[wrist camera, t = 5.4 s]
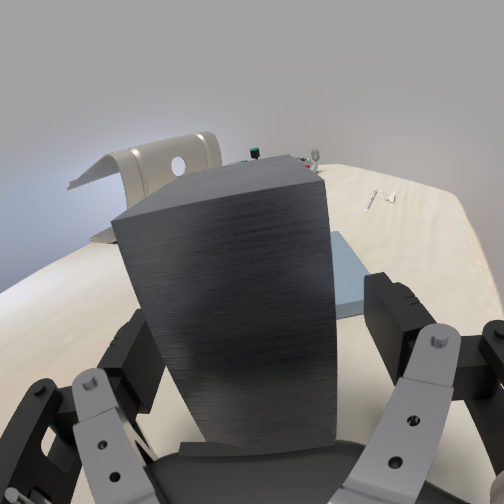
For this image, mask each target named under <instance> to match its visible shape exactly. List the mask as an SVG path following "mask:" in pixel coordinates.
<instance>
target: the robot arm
mask: <svg viewBox="0 0 504 504" xmlns="http://www.w3.org/2000/svg"><path fill="white" fill-rule="evenodd" d="M364 318H365V323H366V326H367V328H368V330H369V332H370V334H371V336H372V338H373V340H374V342H375V345H376V347H377V349H378V351H379V353H380V355H381V357H382V360H383V362H384V364H385V366H386V368H387V370H388V373H389V375H390V377H391V379H392V382H393V384H394V386H396V387H395V389H394V391H393V393H392V396H391V398H390V400H389V402H388V404H387V406H386V409H385V411H384V413H383V415H382V417H381V419H380V421H379V423H378V425H377V427H376V429H375V431H374V432H373V434H372V436H371V438H370V440H369V442H368V444H367V445H363V444H360V443H356V442H352V441H345V440H334V438H333V433H332V430H328V431H323V432H317V433H311V434H304V435H297V436H292V437H289V438H286V439H283V440H280V441H277V442H274V443H271V444H268V445H264V446H261V447H257V448H247V447H240V446H234V445H228V444H223V443H218V442H181V444H180V449H179V452H177V453H173V454H169V455H167V456H164V457H161V458H159V459H158V457H157V456H156V454H155V452H154V451H153V449H152V447H151V445H150V443H149V442H148V440H147V438H146V436H145V434H144V432H143V430H142V428H141V426H140V424H139V423H138V421H137V420H136V416H137V413H140V414H150V411H151V408H152V405H153V402H154V399H155V396H156V393H157V390H158V387H159V384H160V381H161V378H162V375H163V372H164V369H165V366H166V364H165V362H164V360H163V357H162V355H161V353H160V351H159V349H158V347H157V344H156V342H155V340H154V338H153V335H152V333H151V331H150V328H149V326H148V324H147V321H146V319H145V316H144V314H143V312H142V309H137V310H136V311H135V313H134V314H133V316H132V318H131V319H130V321H129V322H127V323H126V324H125V325H123V326H122V327H121V328H120V329H119V330H118V332H117V333H116V335H115V337H114V340H112V342H111V343H110V347H108V349H107V350H106V352H105V354H104V355H103V357H102V359H101V361H100V362H99V364H98V366H97V368H91V369H88V370H85V371H83V372H82V373H80V374H79V375H78V376H77V377H76V378H75V379H74V381H73V383H72V386H68V387H64V388H59V389H58V387H57V386H56V384H55V383H54V382H53V380H51V379H49V378H44V379H41V380H38V381H37V382H35V383H34V384H32V385H31V386H30V388H29V389H28V391H27V392H26V394H25V396H24V397H23V399H22V401H21V402H20V404H19V406H18V407H17V409H16V411H15V413H14V414H13V416H12V418H11V420H10V422H9V423H8V425H7V427H6V429H5V431H4V433H3V434H2V436H1V438H0V504H70V503H71V500H72V496H73V493H74V490H75V487H76V483H77V480H78V477H79V474H80V471H81V468H82V465H83V468H84V472H85V475H86V478H87V481H88V484H89V487H90V490H91V493H92V495H93V498H94V501H95V503H96V504H470V503H468V502H466V501H464V500H462V499H460V498H458V497H456V496H454V495H452V494H450V493H448V492H446V491H444V490H443V489H441V488H439V487H437V486H435V485H433V484H432V483H430V482H428V481H426V480H425V478H426V476H427V474H428V471H429V469H430V466H431V463H432V461H433V458H434V455H435V453H436V450H437V447H438V444H439V441H440V438H441V435H442V432H443V428H444V425H445V422H446V418H447V415H448V411H449V407H450V403H451V401H456V400H464V402H465V404H466V406H467V408H468V410H469V412H470V414H471V417H472V419H473V421H474V423H475V425H476V428H477V430H478V432H479V434H480V437H481V439H482V441H483V444H484V446H485V449H486V451H487V453H488V456H489V458H490V461H491V464H492V466H493V469H494V472H495V474H496V478H495V480H494V481H493V483H492V486H491V489H490V504H504V389H503V388H502V386H501V383H502V385H503V387H504V321H503V320H493V321H490V322H488V323H487V324H486V325H485V326H484V328H483V331H482V335H475V336H460V334H459V333H458V331H457V330H456V329H454V328H453V327H451V326H449V325H446V324H440V323H437V322H436V321H435V320H434V318H433V317H432V316H431V315H430V313H429V312H428V311H427V310H426V308H425V307H424V306H423V305H422V303H420V301H419V300H418V298H417V297H415V295H414V293H413V292H412V291H411V290H410V289H409V288H408V287H407V286H405V285H403V284H401V283H399V282H396V283H392V281H391V280H390V279H389V277H388V276H387V275H386V274H385V273H384V272H381V273H376V274H370V275H365V277H364ZM48 426H49V427H50V428H51V429H52V430H53V432H54V433H55V434H56V437H55V439H54V442H53V444H52V446H51V449H50V451H49V453H48V456H47V457H46V456H45V455H44V454H43V452H42V449H41V441H42V439H43V437H44V435H45V433H46V430H47V428H48Z"/></svg>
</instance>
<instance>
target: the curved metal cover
mask: <svg viewBox="0 0 504 504" xmlns="http://www.w3.org/2000/svg"><path fill="white" fill-rule="evenodd" d="M174 157H181V158H182V159H183V160H184V162H185V164H186V168H185V172H184V173H183V174H188V173H192V172H197V171H201V170H206V169H211V168H216V167H221V166H222V159H221V152H220V148H219V144H218V141H217V139H216V137H215V135H214V134H212V133H211V132H200V133H195V134H190V135H185V136H179V137H174V138H170V139H165V140H161V141H156V142H152V143H148V144H143V145H139V146H135V147H131V148H129V149H127V150H120V151H116V152H113V153H109V154H106V155H104V156H103V157H102V158H101V159H100V160H98V161H97V162H96V163H95V164H94V165H93V166H91V167H90V168H89V169H88V170H87V171H86V172H85V173H84V174H82V175H81V176H80V177H79V178H78V179H77V180H74V181H71V182H70V186H69V187H68V188H67V190H70V189H73V188H76V187H78V186H81V185H84V184H86V183H89V182H92V181H95V180H97V179H100V178H103V177H106V176H109V175H112V174H115V173H118V172H120V174H121V177H122V181H123V185H124V190H125V194H126V202H127V210H128V209H129V208H131V207H132V206H134V205H135V204H137V203H138V202H140V201H141V200H143V199H144V198H146V197H147V196H149V195H151V194H152V193H154V192H155V191H157V190H158V189H160V188H161V187H163V186H165V185H166V184H168V183H169V182H171V181H173V180H174V179H176V178H178V177H179V176H176V175H174V174H173V172H172V169H171V162H172V159H173V158H174ZM183 174H182V175H183ZM90 241H92V242H98V243H106V244H107V243H112V242H115V241H117V240H116V237H115V234H114V231H113V228H112V227H110V228H108V229H106V230H104V231H102V232H100V233H98V234H97V235H95V236H93V237H92V238H90Z"/></svg>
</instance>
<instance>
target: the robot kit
mask: <svg viewBox="0 0 504 504" xmlns="http://www.w3.org/2000/svg"><path fill="white" fill-rule="evenodd" d="M250 153H251V157H252V158H255V160H258V157H259V156H260V154H259V148H253V149H250ZM311 154H312V159H313V160H314V161H315V162H314V163H311V161H310V160H309V159H308V158H302V157H294V159H296V160H297V161H299V162H300V163H301V164H303V165H304V166H306V167H307V168H308V169H310V170H311V171H313V172H314V173H315V172H316V170H317V168H318V166H317V163H316V162H317V160H319V158H320V156H319V150H317V149H313V150H312V151H311ZM241 162H247V161H240V162H235V163H230V164H228V165H231V164H236V163H241Z"/></svg>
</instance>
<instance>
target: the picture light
mask: <svg viewBox="0 0 504 504" xmlns="http://www.w3.org/2000/svg"><path fill="white" fill-rule="evenodd" d="M377 190H378V191H379V190H380V189H377ZM377 190H374V191H373V193H372V194H371V196H370V199H369V201H368V203H367V205H366V206H365V208H364V210H363V212H364V213H365V212H367V211H368V209H369V207H370V205H371V203H372V201H373V199H374V197H375V195H376V193H377ZM382 191H383V190H381V191H380V192H382ZM382 193H384V194H386V193H385V192H384V191H383V192H382ZM385 196H386V200H389V203H394V197H395V193H391V195H390V196H389V197H387V194H386V195H385Z"/></svg>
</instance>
